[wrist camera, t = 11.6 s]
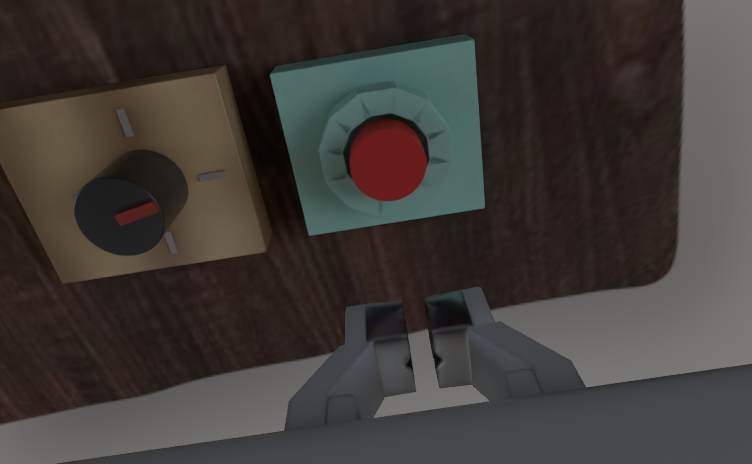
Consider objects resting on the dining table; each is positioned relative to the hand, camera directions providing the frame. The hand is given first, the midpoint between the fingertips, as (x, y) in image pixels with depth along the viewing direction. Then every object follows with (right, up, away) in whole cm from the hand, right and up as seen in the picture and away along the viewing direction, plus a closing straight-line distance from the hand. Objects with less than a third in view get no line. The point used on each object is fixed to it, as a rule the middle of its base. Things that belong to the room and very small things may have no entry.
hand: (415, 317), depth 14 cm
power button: (-1, +6, +12) cm, 13 cm away
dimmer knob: (-13, +5, +13) cm, 19 cm away
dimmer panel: (-14, +6, +16) cm, 22 cm away
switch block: (-1, +8, +15) cm, 17 cm away
